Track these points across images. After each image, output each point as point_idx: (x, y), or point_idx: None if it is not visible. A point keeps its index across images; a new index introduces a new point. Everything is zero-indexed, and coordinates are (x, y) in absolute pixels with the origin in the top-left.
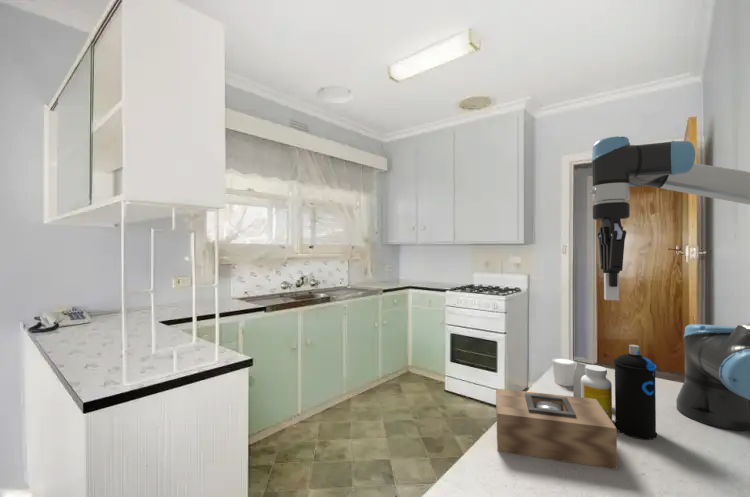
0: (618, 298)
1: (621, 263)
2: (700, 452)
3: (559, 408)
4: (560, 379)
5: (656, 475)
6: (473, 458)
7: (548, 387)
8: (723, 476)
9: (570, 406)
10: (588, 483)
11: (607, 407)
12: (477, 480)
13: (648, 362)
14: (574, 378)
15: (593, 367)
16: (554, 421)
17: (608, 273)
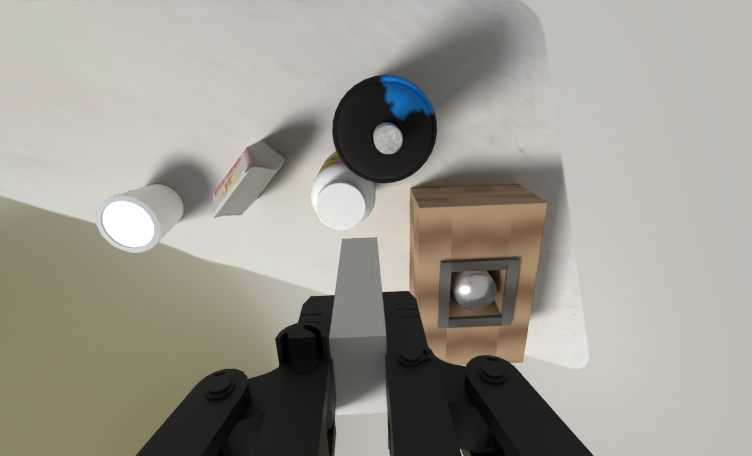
0: (375, 243)
1: (557, 426)
2: (432, 23)
3: (483, 277)
4: (177, 219)
5: (523, 132)
6: None
7: (213, 241)
8: (507, 24)
9: (484, 263)
10: (557, 227)
11: None
12: (569, 341)
13: (416, 105)
14: (243, 212)
15: (339, 211)
16: (533, 288)
17: (385, 395)
